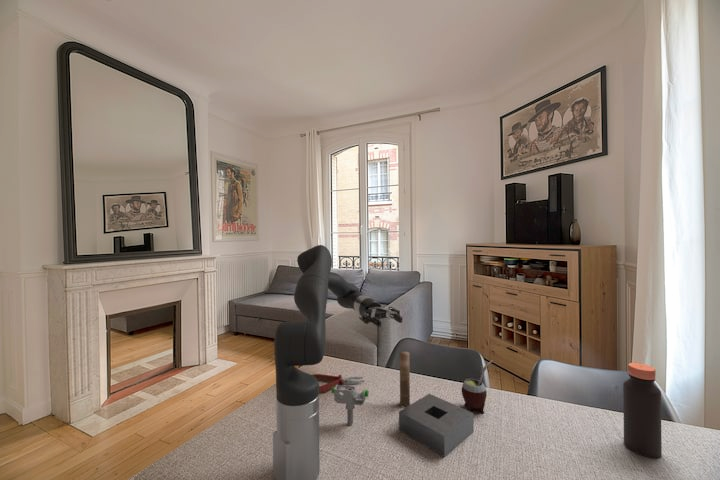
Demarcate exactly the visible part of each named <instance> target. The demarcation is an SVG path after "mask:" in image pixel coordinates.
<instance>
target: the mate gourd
mask: <svg viewBox="0 0 720 480" xmlns="http://www.w3.org/2000/svg"><path fill="white" fill-rule="evenodd" d="M493 362H494V359H492V360H490V361H489V362H487V363H486V364H485V366H483V368H482V371H481V374H480V378H479V379H475V378H466V379H465V380H463V381H464V382H463V383H462V385H461V394H462V395H461V396H462V398H463V401H464V406H465V407H467V410H468V411H470V412H472V413H473V411H476V412H478V413H480V414H482V415H483V414H485V410H484V408H485V404H486V400H487V396H488V395H487V389H486V386H485V384H484V383H483V382H482V379H483V377H484V374H485V371H486V370H487V367H488V366H489V365H491V364H492V363H493Z"/></svg>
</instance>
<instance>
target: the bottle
mask: <svg viewBox="0 0 720 480" xmlns="http://www.w3.org/2000/svg"><path fill="white" fill-rule="evenodd" d="M627 372H628V376H629V378H628V379H626V380H625V381H624V382H623V383H622V384H623V388H622V389H623V391H622V392H623V393H622V394H623V395H622V396H623V397H622V398H623V399H622V400H623V444H624V445H625V447H627V448H628V449H630V450H631V451H632V452H635V453H636V454H639V455H640V456H644V457H647V458H652V457H655V458H656V457H657V458H660V457H662V453H663V450H662V448H663V447H662V444H663V443H662V392H661V390H660V389H659V387H658V386H656V385H655V383H654V382H655V381H656V369H655V368H654V367H652V366H651V365H650V366H649V365H648V364H644V363H637V362H630V363H628V364H627ZM655 458H654V459H655Z"/></svg>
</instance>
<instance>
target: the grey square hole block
mask: <svg viewBox="0 0 720 480" xmlns="http://www.w3.org/2000/svg"><path fill="white" fill-rule="evenodd" d="M474 423H475V422H474V412H473V411H472V412H470V411H468V409H465V408H463V407H460V406H458V405H456V404H455V403H452V402H449V401H447V400H445V399H443V398H440V397H438V396H436V395H433V394H431V393H428V394H427V395H425V396H423V397H422V398H420V399H418V400H416V401H415V402H412V403H410V405H409V406H407V407H403V408H402V409H400V410H399V411H398V430H399V431H400V432H401V433H403V434H405V435H407V436H408V437H410V438H411V439H414V440H415V441H417V442H418V443H420V444H422V445H424V446H425V447H426V448H428V449H431V450H432V451H433V452H435V453H437V454H438V455H440V456H441V457H443V458H445V457H447V456H448V455H449V454H450V453H451V452H452V451H454V450H455V449H456V448H457V447H458V446H460V444H462V443H463V441H465V440H466V439H467V438H469V437H470V435H472V434H473V433H474V429H475V428H474Z"/></svg>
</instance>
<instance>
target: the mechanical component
mask: <svg viewBox="0 0 720 480" xmlns="http://www.w3.org/2000/svg"><path fill="white" fill-rule="evenodd" d="M331 394H333V396H334V397H333V398H334V402H335V403H337V404H343V405H345V410H347V411H346V413H347V419H346V420H347V426H349V427H352V425H353V423H354V409H355V408H356V406H363V405H364V404H365V401H366V399H367V398H369V390H368V389H366V388H362V391H361V392H358V391H357V389H356V386H353V385H336V386H335V387H332V390H331Z"/></svg>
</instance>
